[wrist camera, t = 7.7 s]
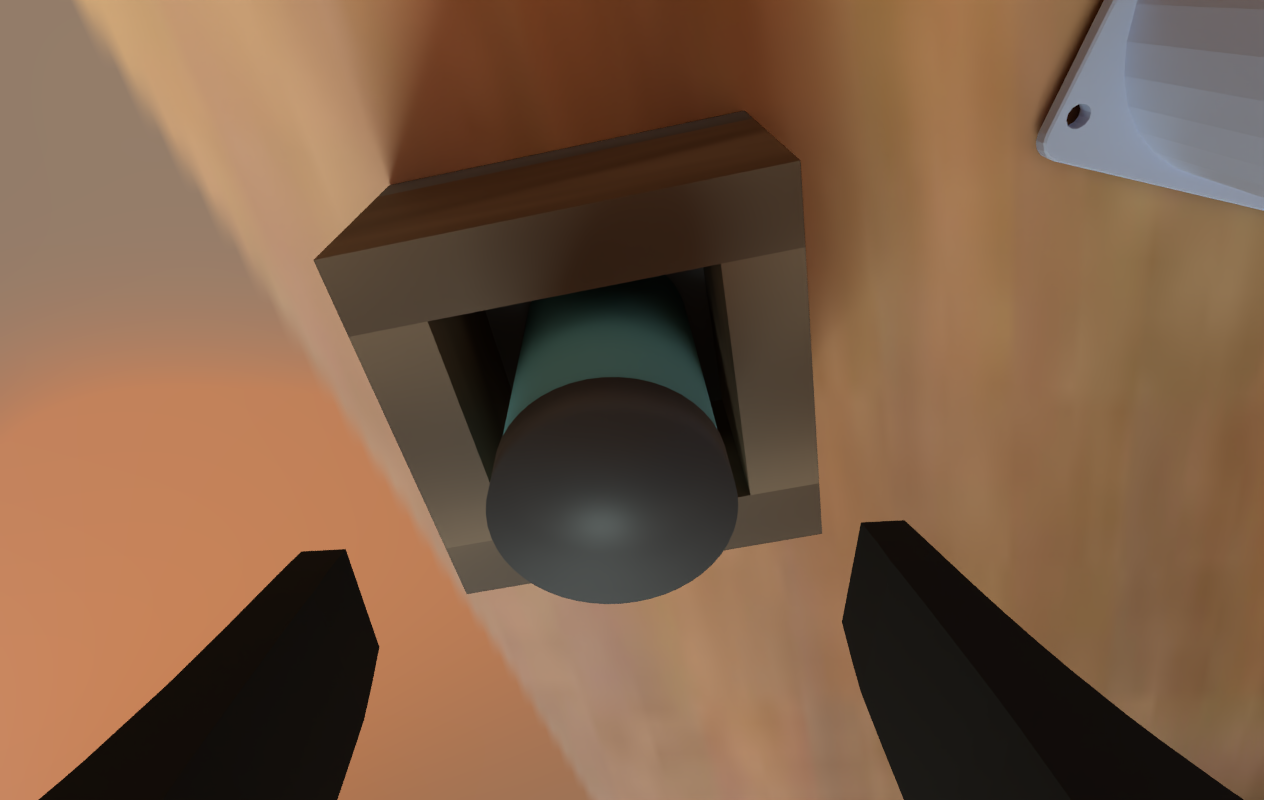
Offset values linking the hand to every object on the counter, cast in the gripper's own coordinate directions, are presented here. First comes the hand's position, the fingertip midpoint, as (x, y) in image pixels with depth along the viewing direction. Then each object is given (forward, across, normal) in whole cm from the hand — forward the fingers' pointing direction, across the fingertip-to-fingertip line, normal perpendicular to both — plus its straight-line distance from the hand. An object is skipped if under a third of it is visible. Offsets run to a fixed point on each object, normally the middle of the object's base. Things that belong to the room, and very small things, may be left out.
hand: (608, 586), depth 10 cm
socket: (+10, 0, 0) cm, 10 cm away
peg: (+8, 0, 0) cm, 9 cm away
